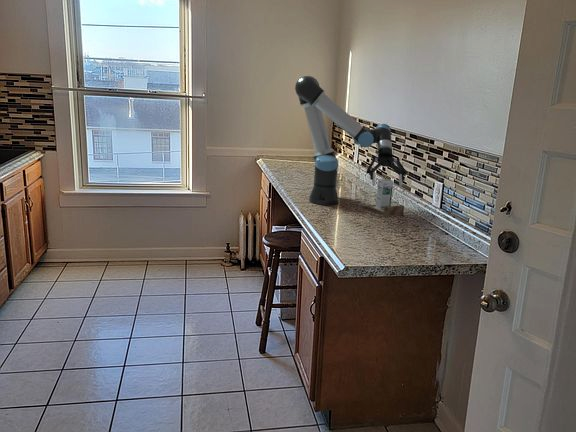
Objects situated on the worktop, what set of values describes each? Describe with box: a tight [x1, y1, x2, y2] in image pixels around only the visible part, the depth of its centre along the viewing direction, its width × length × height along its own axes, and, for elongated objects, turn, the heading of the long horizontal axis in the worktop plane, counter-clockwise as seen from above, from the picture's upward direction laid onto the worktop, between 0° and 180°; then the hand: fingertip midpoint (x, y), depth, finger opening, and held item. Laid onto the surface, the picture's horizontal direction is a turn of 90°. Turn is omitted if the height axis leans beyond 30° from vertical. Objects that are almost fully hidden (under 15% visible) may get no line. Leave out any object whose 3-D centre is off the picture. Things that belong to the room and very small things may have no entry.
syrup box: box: [375, 178, 394, 210], centre depth 254 cm, size 6×6×14 cm
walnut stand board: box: [363, 204, 405, 217], centre depth 255 cm, size 12×16×4 cm
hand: (387, 185), depth 254 cm, fingers open, 13 cm apart
